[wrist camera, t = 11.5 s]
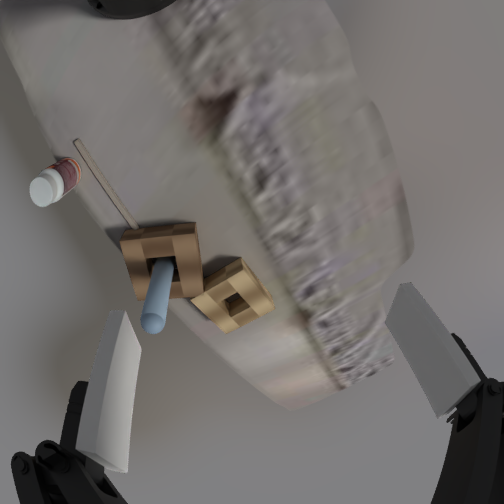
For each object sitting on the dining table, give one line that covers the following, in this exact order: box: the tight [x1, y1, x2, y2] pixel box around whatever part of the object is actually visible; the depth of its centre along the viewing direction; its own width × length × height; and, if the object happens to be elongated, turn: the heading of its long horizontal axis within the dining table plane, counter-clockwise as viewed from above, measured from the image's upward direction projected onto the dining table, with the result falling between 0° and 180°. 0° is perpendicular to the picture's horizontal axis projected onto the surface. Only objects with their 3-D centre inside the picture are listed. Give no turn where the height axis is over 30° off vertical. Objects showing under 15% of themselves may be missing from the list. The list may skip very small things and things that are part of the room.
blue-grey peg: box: [141, 256, 176, 334], centre depth 36 cm, size 3×3×16 cm
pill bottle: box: [30, 158, 81, 207], centre depth 29 cm, size 5×5×8 cm
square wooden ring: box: [119, 222, 204, 301], centre depth 41 cm, size 11×11×4 cm
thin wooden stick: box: [74, 139, 139, 230], centre depth 34 cm, size 16×1×1 cm, turn 27°
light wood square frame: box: [190, 257, 275, 334], centre depth 46 cm, size 10×10×4 cm
